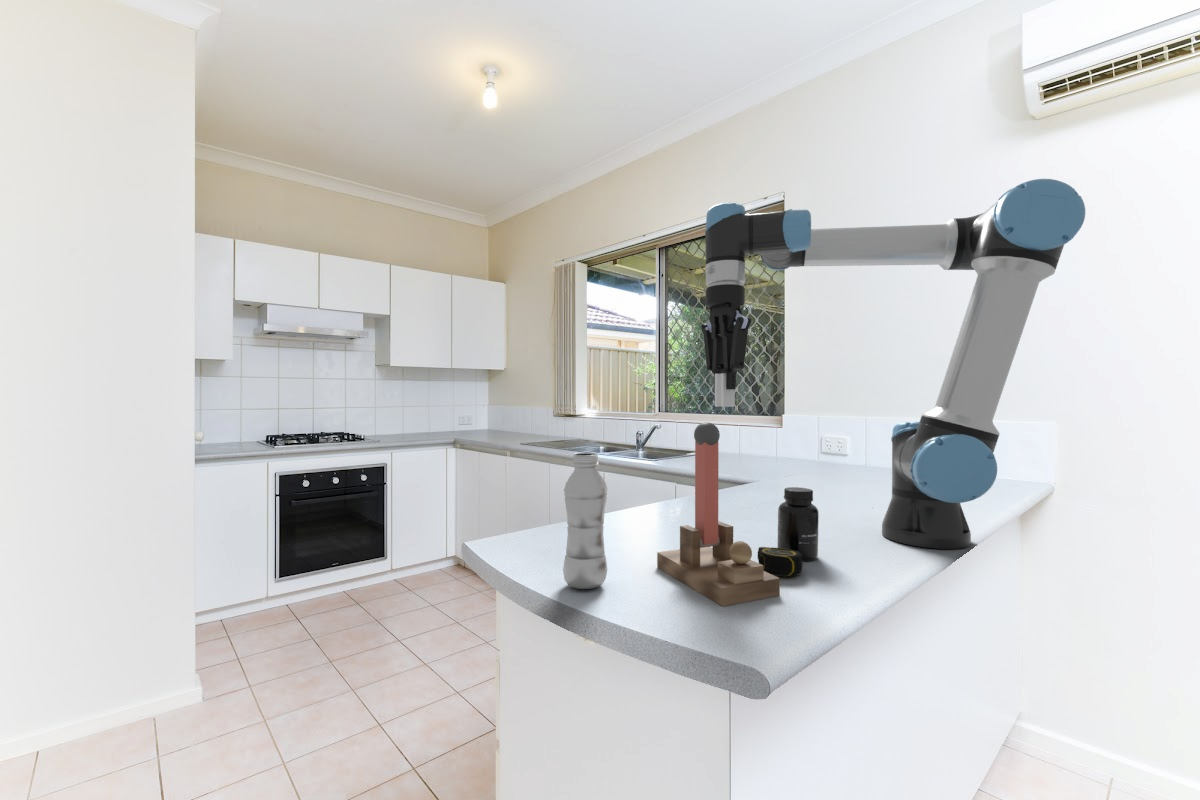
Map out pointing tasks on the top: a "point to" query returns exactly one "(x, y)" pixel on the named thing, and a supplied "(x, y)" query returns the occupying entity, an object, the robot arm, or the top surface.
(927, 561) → the top surface
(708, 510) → the lever
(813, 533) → the supplement bottle
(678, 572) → the cracker base
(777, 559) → the tape measure
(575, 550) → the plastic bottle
